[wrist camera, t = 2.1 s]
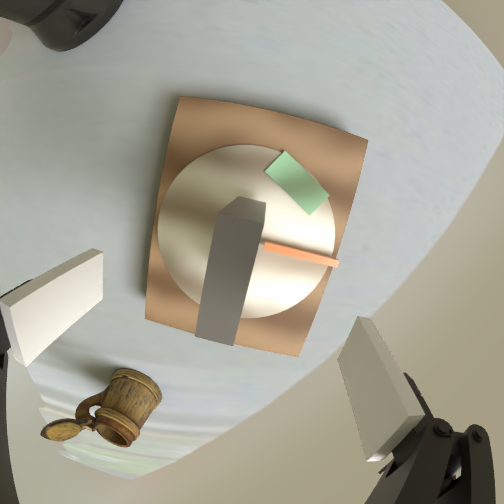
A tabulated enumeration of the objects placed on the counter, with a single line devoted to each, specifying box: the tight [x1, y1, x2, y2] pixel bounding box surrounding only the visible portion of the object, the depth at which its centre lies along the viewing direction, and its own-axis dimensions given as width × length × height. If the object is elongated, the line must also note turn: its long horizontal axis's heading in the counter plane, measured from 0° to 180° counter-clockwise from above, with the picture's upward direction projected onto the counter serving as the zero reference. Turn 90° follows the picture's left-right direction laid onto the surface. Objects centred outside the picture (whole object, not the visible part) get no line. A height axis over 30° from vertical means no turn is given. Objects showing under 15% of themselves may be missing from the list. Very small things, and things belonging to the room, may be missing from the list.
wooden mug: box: [41, 369, 162, 447], centre depth 29 cm, size 9×14×18 cm, turn 68°
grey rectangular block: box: [195, 196, 339, 346], centre depth 20 cm, size 8×10×11 cm
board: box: [145, 96, 368, 357], centre depth 27 cm, size 24×18×4 cm
